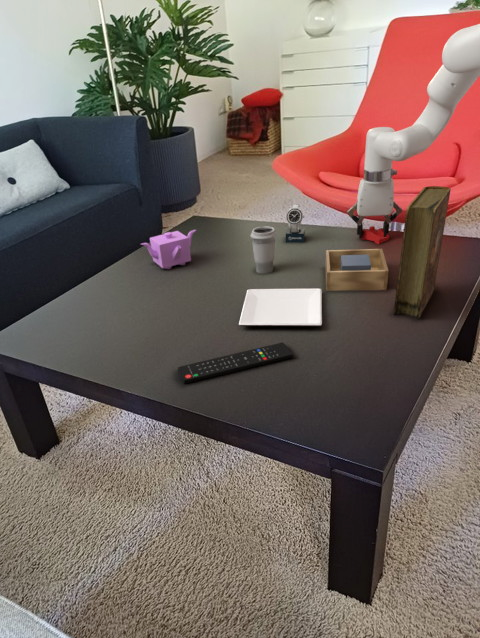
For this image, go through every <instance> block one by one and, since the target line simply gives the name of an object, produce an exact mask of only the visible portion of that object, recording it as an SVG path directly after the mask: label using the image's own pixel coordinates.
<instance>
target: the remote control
mask: <svg viewBox="0 0 480 638" xmlns="http://www.w3.org/2000/svg"><path fill="white" fill-rule="evenodd" d="M291 358H294V354H293V352H292V351H291V350H290V349H289V348H288V346H287V345H286V344H285V342H283V341H282V342H279V343H274V344H270V345H266V346H262V347H261V346H260V347H256V348H253V349H248V350H244V351H240V352H236V353H231V354H228V355H224V356H219V357H215V358H211V359H206V360H202V361H198V362H193V363H190V364H184V365H180V366H178V367H177V374H178V379H179V381H180V382H181V383H182V384H188V383H192V382H196V381H200V380H205V379H208V378H213V377H217V376H220V375H221V376H222V375H225V374H229V373H233V372H237V371H242V370H245V369H250V368H254V367H258V366H262V365H266V364H270V363H271V364H272V363H274V362H278V361H279V362H280V361H283V360H286V359H291Z"/></svg>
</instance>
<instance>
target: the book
mask: <svg viewBox="0 0 480 638" xmlns="http://www.w3.org/2000/svg"><path fill="white" fill-rule="evenodd" d="M451 189H452V188H450V187H448V186H442V185H441V186H440V185H439V186H437V185H431V186H424V187H422V189H421V190H420V192H419V193H418V194H416V196H415V197H414V198H413V200H412V201H411V202H410V203H409V204H408V206H407V207H406V210H405V211H406V212H405V217H404V225H403V234H402V242H401V249H400V259H399V267H398V275H397V282H396V292H395V297H394V306H393V316H399V315H401V316H409V317H411V318H414V319H417V320H420V318H421V316H422V314H423V312H424V310H425V308H426V307H427V304H428V302H429V301H430V299H431V297H432V295H433V293H434V291H435V286H436V281H437V280H436V279H437V273H438V267H439V262H440V255H441V250H442V244H443V237H444V232H445V226H446V220H447V213H448V207H449V201H450V195H451V191H452V190H451Z"/></svg>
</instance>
